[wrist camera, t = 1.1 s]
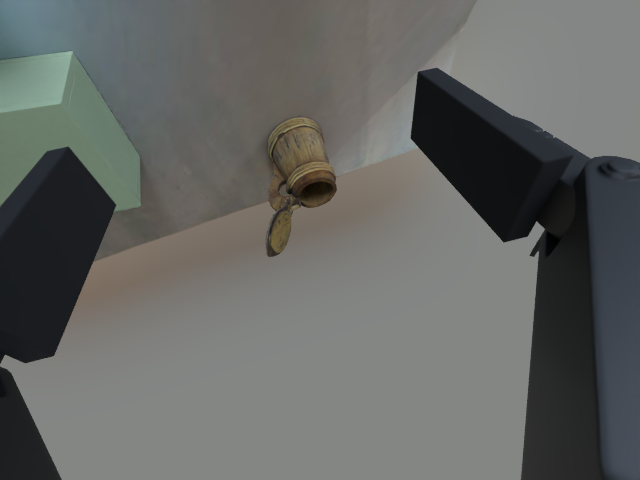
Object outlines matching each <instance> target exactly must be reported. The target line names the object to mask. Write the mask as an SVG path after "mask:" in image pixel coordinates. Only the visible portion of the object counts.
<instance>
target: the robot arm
mask: <svg viewBox="0 0 640 480" xmlns="http://www.w3.org/2000/svg"><path fill="white" fill-rule="evenodd" d="M411 139H412V140H413V142H414V143H415V144H416V145H417V146H418V147H419V148H420V149H421V150H422V152H423V153H424V154H425V155H426V156H427V157H428V158H429V159H430V160H431V162H432V163H433V164H434V165H435V166H436V167H437V168H438V169H439V171H440V172H441V173H442V174H443V175H444V176H445V177H446V178H447V180H448V181H449V182H450V183H451V184H452V185H453V186H454V187H455V188H456V190H457V191H458V192H459V193H460V194H461V195H462V196H463V197H464V198H465V200H466V201H467V202H468V203H469V204H470V205H471V206H472V207H473V208H474V210H475V211H476V212H477V213H478V214H479V215H480V216H481V218H482V219H483V220H484V221H485V222H486V223H487V224H488V225H489V226H490V227H491V229H492V230H493V231H494V232H495V233H496V234H497V235H498V237H500V239H501V240H502V241H503V242H507V241H511V240H515V239H519V238H523V237H527V236H528V235H529V233H530V231H531V230H532V228H533V226H534V225H535V223H536V221H537V222H538V223H539V224H540V225H541V226H543V227H544V228H545V230H544V232H543V234H542V235H541V237H540V238H539V240H538V242H537V243H536V245H535V247H534V248H533V250H532V252H531V254H530V256H533V257H534V256H535V254H536V253H537V252H538V251H539V260H538V272H537V284H536V297H535V310H534V322H533V335H532V348H531V361H530V374H529V386H528V399H527V411H526V424H525V436H524V449H523V462H522V475H521V480H640V163H639V162H636V161H633V160H631V159H626V158H621V157H616V156H615V157H614V156H601V157H594V158H592V159H590V158H589V157H587V156H585V155H584V154H582V153H580V152H579V151H577V150H576V149H574V148H572V147H571V146H569V145H568V144H566V143H564V142H562V141H561V140H559V139H558V138H556V137H555V138H553V135H551V134H550V133H548V132H546V131H543V129H542V128H540V127H538V126H537V125H535V124H533V123H532V122H530V121H527V120H524V119H521V118H518V117H515V116H512V115H510V114H509V113H507V112H506V111H504V110H502V109H501V108H499V107H498V106H496V105H494V104H493V103H491V102H490V101H488V100H487V99H485V98H484V97H482V96H480V95H479V94H477V93H476V92H474V91H473V90H471V89H469V88H468V87H466V86H465V85H463V84H462V83H460V82H458V81H457V80H455V79H454V78H452V77H451V76H449V75H448V74H446V73H444V72H443V71H441V70H440V69H438V68H433V69H429V70H424V71H419V72H418V76H417V85H416V94H415V103H414V112H413V121H412V130H411ZM115 208H116V204H115V202H114V201H113V200H112V199H111V198H110V196H109V195H108V194H107V193H106V191H105V190H104V189H103V188H102V187H101V185H100V184H99V183H98V182H97V180H96V179H95V178H94V177H93V176H92V174H91V173H90V172H89V171H88V169H87V168H86V167H85V166H84V165H83V163H82V162H81V161H80V160H79V158H78V157H77V156H76V155H75V154H74V152H73V151H72V150H71V149H70V147H69V146H68V147H64V148H59V149H54V150H50V151H46V153H45V154H44V155H43V156H42V157H41V159H40V160H39V161H38V162H37V163H36V165H35V166H34V167H33V168H32V169H31V170H30V172H29V173H28V174H27V175H26V176H25V178H24V179H23V180H22V181H21V182H20V184H19V185H18V186H17V187H16V188H15V190H14V191H13V192H12V193H11V194H10V195H9V197H8V198H7V199H6V200H5V201H4V203H3V204H2V205H1V206H0V363H1V361H2V359H3V357H4V355H8V356H10V357H12V358H14V359H17V360H19V361H21V362H24V363H28V362H32V361H35V360H40V359H44V358H48V357H52V356H54V355H55V352H56V350H57V347H58V345H59V342H60V340H61V337H62V335H63V333H64V330H65V328H66V326H67V323H68V321H69V318H70V316H71V314H72V311H73V309H74V306H75V304H76V302H77V299H78V296H79V294H80V292H81V290H82V287H83V285H84V282H85V280H86V277H87V275H88V273H89V270H90V268H91V265H92V263H93V261H94V258H95V256H96V253H97V251H98V249H99V246H100V244H101V241H102V239H103V236H104V234H105V232H106V229H107V227H108V224H109V222H110V220H111V217H112V215H113V212H114V210H115ZM0 480H61V477H60V475H59V473H58V471H57V469H56V467H55V465H54V463H53V461H52V458H51V456H50V454H49V452H48V450H47V448H46V446H45V444H44V442H43V439H42V437H41V435H40V433H39V431H38V429H37V427H36V425H35V423H34V420H33V418H32V416H31V414H30V412H29V410H28V408H27V406H26V404H25V401H24V399H23V397H22V395H21V393H20V391H19V389H18V387H17V385H16V382H15V380H14V378H13V376H12V374H11V373H10V372H9V371H8V370H7V369H5V368H2V367H0Z"/></svg>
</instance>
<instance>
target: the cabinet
mask: <svg viewBox="0 0 640 480" xmlns="http://www.w3.org/2000/svg"><path fill="white" fill-rule="evenodd" d="M68 146H69V147H70V149H71V150H72V151H73V152H74V154H75V155H76V156H77V157H78V158H79V160H80V161H81V162H82V163H83V165H84V166H85V167H86V168H87V169H88V171H89V172H90V173H91V174H92V176H93V177H94V178H95V179H96V180H97V182H98V183H99V184H100V185H101V187H102V188H103V189H104V190H105V191H106V193H107V194H108V195H109V196H110V198H111V199H112V200H113V201H114V202H115V204H116V208H115V210H114V212H117V211H122V210H126V209H131V208H135V207H140V206H141V205H140V156H139V155H138V153H137V152H136V150H135V148H134V147H133V145H132V144H131V142H130V141H129V139H128V137H127V136H126V134H125V133H124V131H123V130H122V128H121V126H120V125H119V123H118V122H117V120H116V119H115V117H114V115H113V114H112V112H111V111H110V109H109V108H108V106H107V104H106V103H105V101H104V100H103V98H102V97H101V95H100V93H99V92H98V90H97V89H96V87H95V86H94V84H93V82H92V81H91V79H90V78H89V76H88V75H87V73H86V71H85V70H84V68H83V67H82V65H81V64H80V62H79V60H78V59H77V57H76V56H75V54H74V53H73V51H68V52H60V53H52V54H44V55H36V56H28V57H20V58H12V59H4V60H0V206H1V205H2V204H3V203H4V201H5V200H6V199H7V198H8V197H9V195H10V194H11V193H12V192H13V191H14V190H15V188H16V187H17V186H18V185H19V184H20V182H21V181H22V180H23V179H24V178H25V176H26V175H27V174H28V173H29V172H30V170H31V169H32V168H33V167H34V166H35V165H36V163H37V162H38V161H39V160H40V159H41V157H42V156H43V155H44V154H45V153H46V151H50V150H54V149H59V148H64V147H68Z"/></svg>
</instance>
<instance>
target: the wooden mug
mask: <svg viewBox="0 0 640 480" xmlns="http://www.w3.org/2000/svg"><path fill="white" fill-rule="evenodd" d="M267 152H268V157H269V158H270V160H271V161H272V163H273V164H274V173H273V177H272V180H271V183H270V187H269V191H268V197H269V202H270V204H271V206H272V208H273V209H275V211H276V212H275V213H274V215H273V217H272V219H271V221H270V223H269V226H268V230H267V235H266V254H267V255H268V256H269V257H272V256H276V255H278V254H280V253H281V252H282V251H283V250H284V248H285V247H286V245H287V242H288V239H289V236H290V231H291V215H292V212H293V211H294V210H295V209H297V208H299V207H300V206H301V205H302V206H304V207H307V208H313V207H318V206H320V205H323V204H325V203H327V202H328V201H330V200H331V199H332V197H333V196H334V194H335V192H336V190H337V189H336V184H335V181H336V177H335V173H334V170H333V168H332V167H331V165H330V164H329V161H328V157H327V154H326V150H325V147H324V139H323V135H322V131H321V129H320V127H319V125H318V124H317V123H316V122H314V121H313V120H311V119H308V118H305V117H296V118H291V119H289V120H287V121H284V122H283V123H282V124H280V125H279V126H278V127H277V128H275V129H274V130H273V131H272V133H271V135H270V137H269V138H268V144H267ZM284 184H286V192H287V193H288V194H289V195H287V196H281V195H280V194H279V189H280V187H281V186H282V185H284Z"/></svg>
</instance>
